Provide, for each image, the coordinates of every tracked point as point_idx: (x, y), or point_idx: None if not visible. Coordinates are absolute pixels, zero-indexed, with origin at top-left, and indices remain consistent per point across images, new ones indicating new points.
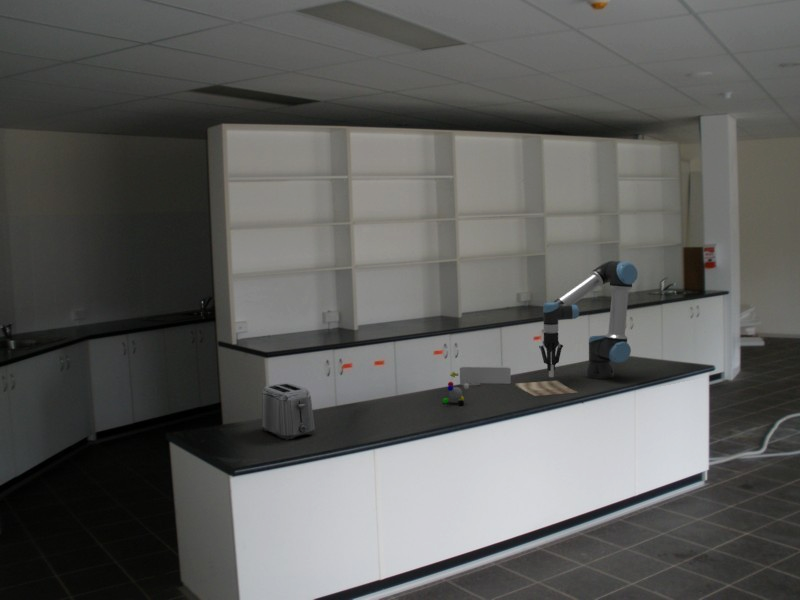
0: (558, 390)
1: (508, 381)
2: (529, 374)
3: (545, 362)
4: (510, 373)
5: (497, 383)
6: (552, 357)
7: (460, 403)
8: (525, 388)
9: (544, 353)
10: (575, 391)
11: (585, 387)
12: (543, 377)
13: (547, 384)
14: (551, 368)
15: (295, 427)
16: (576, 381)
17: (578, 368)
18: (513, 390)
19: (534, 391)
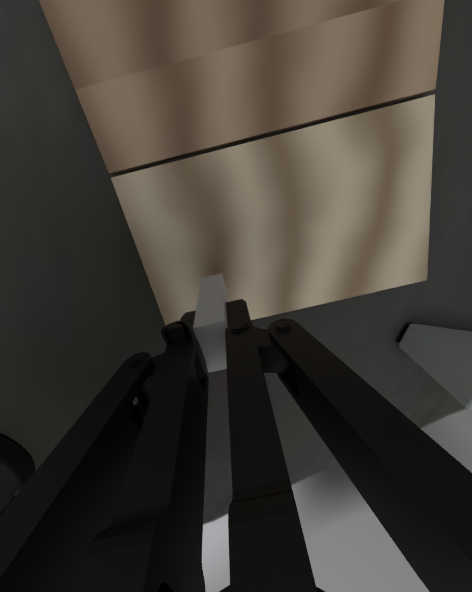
0: (197, 98)
1: (430, 335)
2: None
3: (300, 327)
4: (448, 373)
5: (468, 336)
6: (195, 415)
7: None
8: (408, 173)
9: (394, 437)
10: (62, 29)
11: (14, 256)
12: (211, 450)
13: (243, 262)
14: (219, 303)
15: None
16: (72, 388)
17: None
18: (443, 217)
19: (379, 83)
